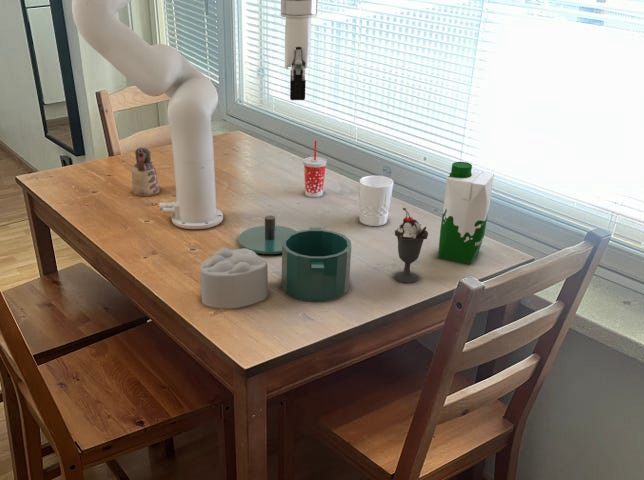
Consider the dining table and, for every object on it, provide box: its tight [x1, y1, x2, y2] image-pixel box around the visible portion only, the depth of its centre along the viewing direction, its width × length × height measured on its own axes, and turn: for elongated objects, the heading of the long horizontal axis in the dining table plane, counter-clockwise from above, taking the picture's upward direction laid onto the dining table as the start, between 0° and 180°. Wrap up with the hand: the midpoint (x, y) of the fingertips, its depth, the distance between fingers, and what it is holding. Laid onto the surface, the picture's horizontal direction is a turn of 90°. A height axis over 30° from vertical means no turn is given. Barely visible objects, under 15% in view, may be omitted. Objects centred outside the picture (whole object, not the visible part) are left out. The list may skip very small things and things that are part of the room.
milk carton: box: [437, 161, 495, 265], centre depth 153 cm, size 9×9×20 cm
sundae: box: [393, 207, 429, 284], centre depth 146 cm, size 7×7×15 cm
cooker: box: [281, 226, 352, 303], centre depth 145 cm, size 14×19×10 cm
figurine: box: [131, 146, 160, 197], centre depth 190 cm, size 7×7×12 cm
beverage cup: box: [302, 140, 328, 198], centre depth 187 cm, size 6×6×14 cm
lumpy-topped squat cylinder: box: [199, 247, 269, 310], centre depth 142 cm, size 10×13×9 cm
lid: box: [237, 215, 298, 255], centre depth 163 cm, size 15×15×6 cm
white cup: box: [358, 175, 394, 227], centre depth 172 cm, size 8×8×10 cm
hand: (297, 94), depth 157 cm, fingers open, 9 cm apart
